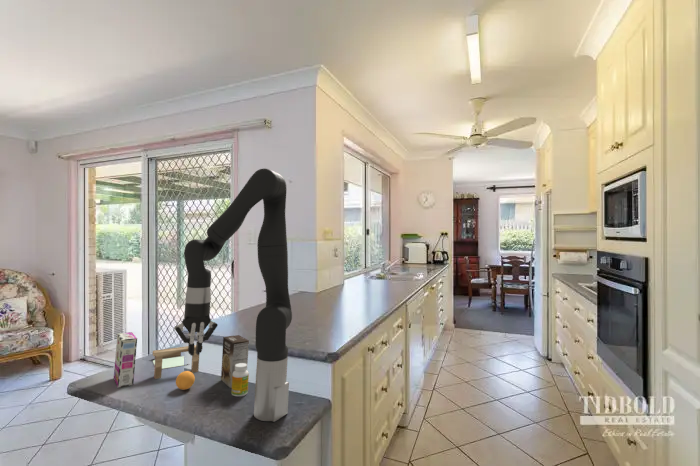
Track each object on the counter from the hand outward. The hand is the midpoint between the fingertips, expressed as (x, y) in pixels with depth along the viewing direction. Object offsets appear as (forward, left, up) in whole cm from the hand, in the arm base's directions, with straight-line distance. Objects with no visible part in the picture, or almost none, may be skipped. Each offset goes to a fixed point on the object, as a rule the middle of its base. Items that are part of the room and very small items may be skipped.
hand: (194, 354), depth 108 cm
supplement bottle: (-8, -13, -15) cm, 21 cm away
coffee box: (+1, -18, -15) cm, 24 cm away
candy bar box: (+33, +3, -15) cm, 37 cm away
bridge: (+24, -12, -15) cm, 31 cm away
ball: (+10, -5, -12) cm, 16 cm away
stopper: (+44, -21, -15) cm, 51 cm away
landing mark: (+37, -17, -15) cm, 44 cm away
